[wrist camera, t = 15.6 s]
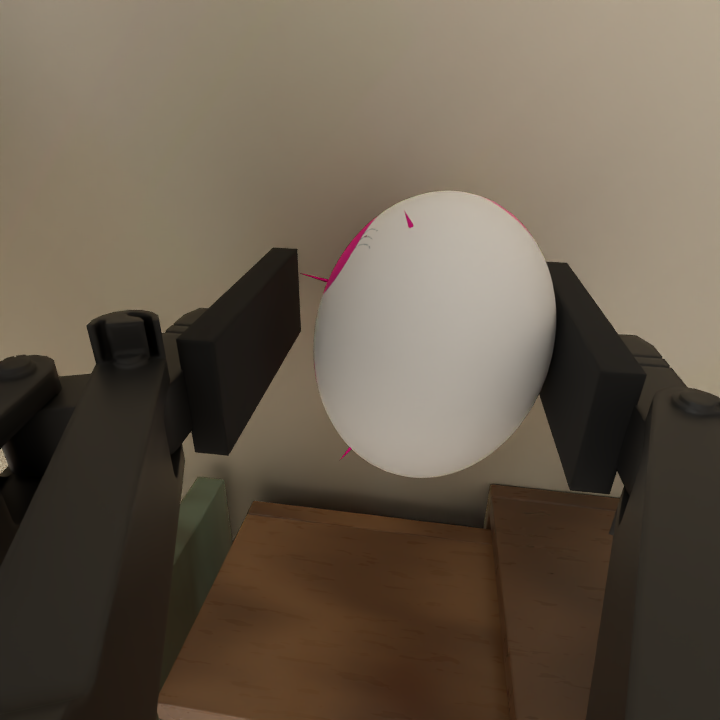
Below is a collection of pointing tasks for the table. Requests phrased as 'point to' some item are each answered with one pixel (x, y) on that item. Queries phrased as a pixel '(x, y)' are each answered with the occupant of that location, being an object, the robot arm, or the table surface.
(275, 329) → the robot arm
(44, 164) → the table surface
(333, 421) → the stress ball
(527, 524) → the cabinet
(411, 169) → the table surface
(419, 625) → the drawer
